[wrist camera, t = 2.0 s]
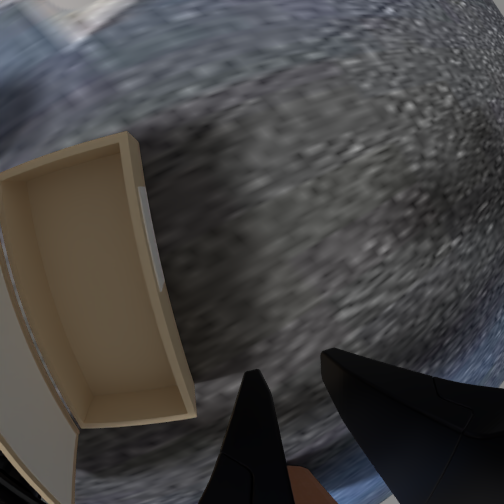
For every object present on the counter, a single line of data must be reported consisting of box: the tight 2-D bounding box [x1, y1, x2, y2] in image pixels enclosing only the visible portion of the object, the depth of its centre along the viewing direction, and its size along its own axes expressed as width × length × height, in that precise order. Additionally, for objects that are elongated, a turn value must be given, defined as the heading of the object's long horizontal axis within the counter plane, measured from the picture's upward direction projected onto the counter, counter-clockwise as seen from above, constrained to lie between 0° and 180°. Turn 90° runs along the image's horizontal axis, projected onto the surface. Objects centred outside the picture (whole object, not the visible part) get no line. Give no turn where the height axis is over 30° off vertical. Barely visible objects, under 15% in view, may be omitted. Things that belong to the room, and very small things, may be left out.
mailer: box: [0, 131, 197, 429], centre depth 17 cm, size 18×9×4 cm, turn 9°
